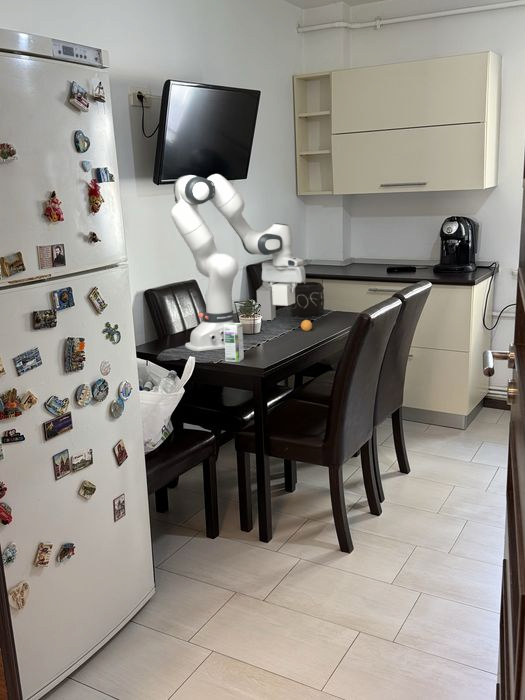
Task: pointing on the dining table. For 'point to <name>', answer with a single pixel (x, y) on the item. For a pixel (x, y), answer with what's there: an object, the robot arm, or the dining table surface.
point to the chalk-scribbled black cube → (308, 300)
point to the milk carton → (266, 302)
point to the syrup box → (233, 342)
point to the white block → (282, 294)
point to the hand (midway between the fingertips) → (283, 292)
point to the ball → (306, 325)
